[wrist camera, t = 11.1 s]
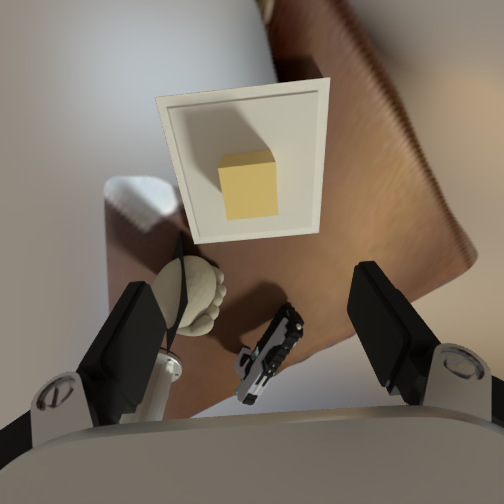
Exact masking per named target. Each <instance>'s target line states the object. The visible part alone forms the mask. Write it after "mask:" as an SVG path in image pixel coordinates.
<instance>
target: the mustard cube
mask: <svg viewBox="0 0 504 504" xmlns="http://www.w3.org/2000/svg"><path fill="white" fill-rule="evenodd" d="M218 172H219V178H220V183H221V189H222V194H223V200H224V205H225V211H226V217H227V221H228V220H237V219H247V218H257V217H266V216H276V215H278V197H277V176H276V161H275V159H274V156H273V154H272V152H271V150H265V151H256V152H248V153H239V154H230V155H222V158H221V161H220V164H219V167H218Z"/></svg>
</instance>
